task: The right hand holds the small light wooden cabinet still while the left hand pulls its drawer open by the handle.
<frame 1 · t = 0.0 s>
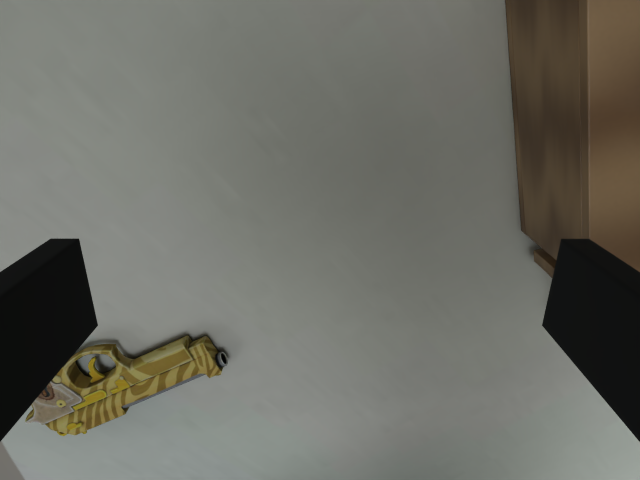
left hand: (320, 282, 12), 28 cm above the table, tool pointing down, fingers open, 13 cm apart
drawer: (622, 192, 34), point 6 cm above the table, slide at 1.7 cm
handgun: (103, 348, 47), on the table
cabinet: (580, 101, 37), on the table
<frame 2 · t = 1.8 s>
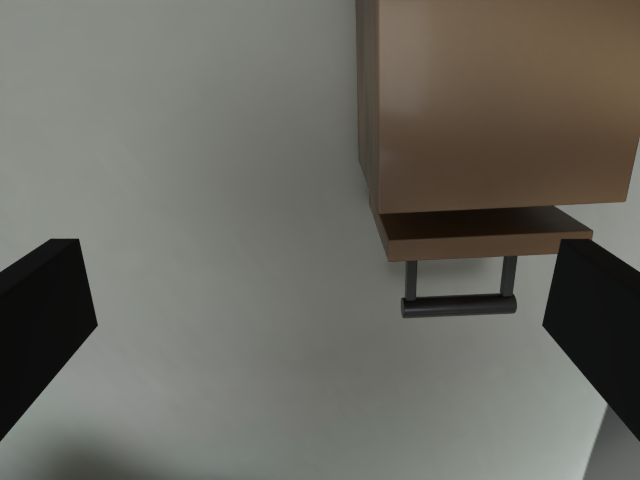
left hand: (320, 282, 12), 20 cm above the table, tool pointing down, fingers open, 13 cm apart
drawer: (469, 102, 24), point 6 cm above the table, slide at 1.7 cm
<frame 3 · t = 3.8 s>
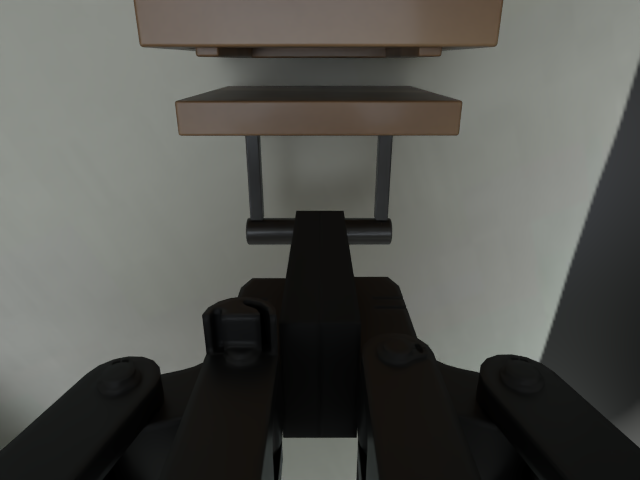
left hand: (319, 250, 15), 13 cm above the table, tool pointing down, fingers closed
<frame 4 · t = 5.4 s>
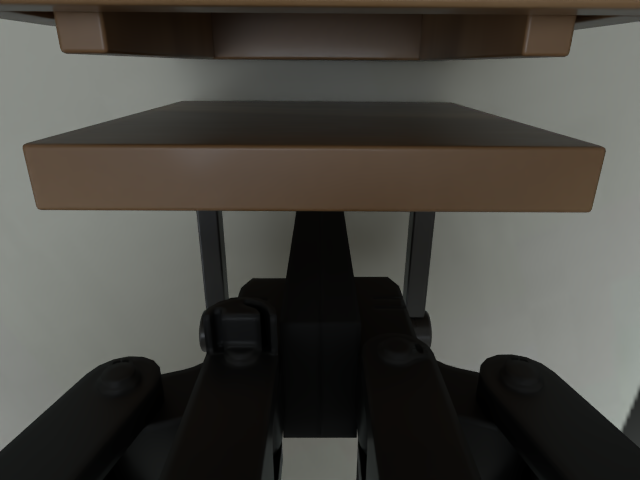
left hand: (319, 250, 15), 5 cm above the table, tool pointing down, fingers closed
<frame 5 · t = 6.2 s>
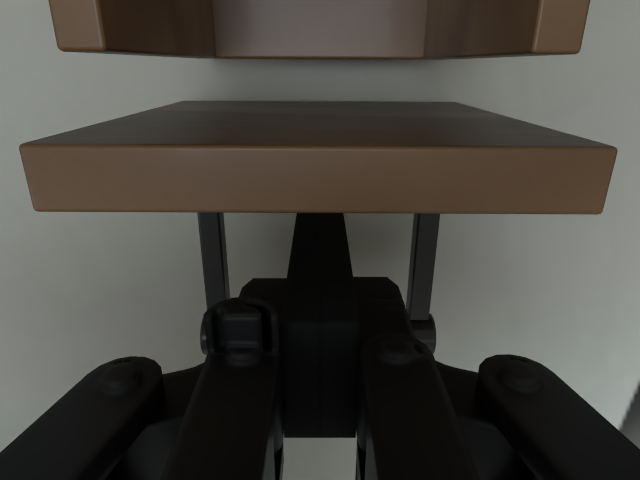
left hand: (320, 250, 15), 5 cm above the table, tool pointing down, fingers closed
when the right hand's fingers open (7 cm above the table, at t = 7.9 s): cabinet stays where it is, on the table.
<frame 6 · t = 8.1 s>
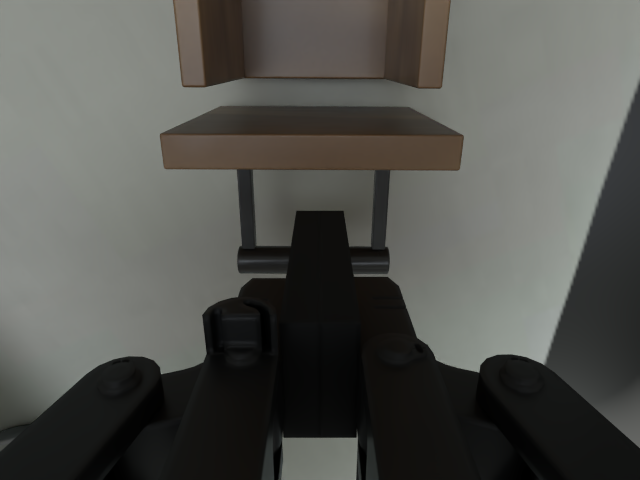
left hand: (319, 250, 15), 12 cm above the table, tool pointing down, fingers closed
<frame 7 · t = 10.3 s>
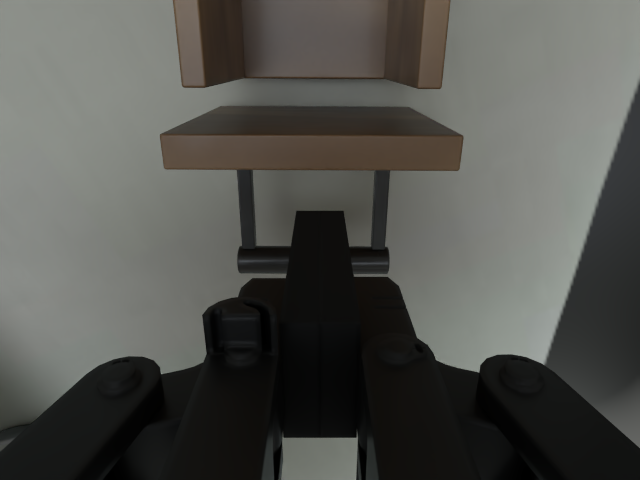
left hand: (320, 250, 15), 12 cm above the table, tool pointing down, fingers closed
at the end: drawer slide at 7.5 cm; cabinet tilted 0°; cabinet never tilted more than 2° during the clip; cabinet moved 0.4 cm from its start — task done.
